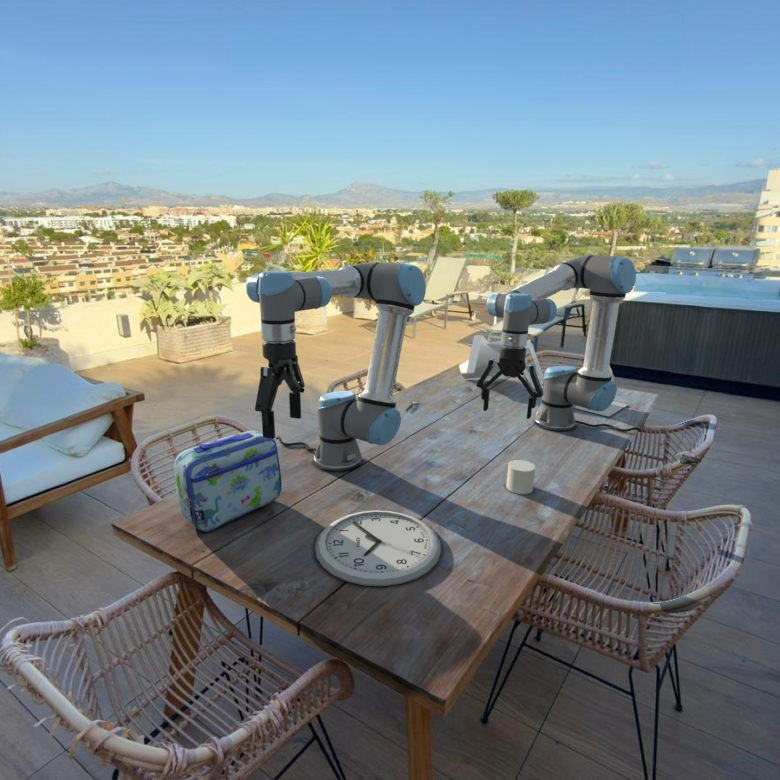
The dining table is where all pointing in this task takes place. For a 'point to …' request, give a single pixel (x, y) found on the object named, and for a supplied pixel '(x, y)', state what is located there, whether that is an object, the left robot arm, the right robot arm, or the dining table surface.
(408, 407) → the fork
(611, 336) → the right robot arm
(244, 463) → the lunch box
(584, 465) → the dining table surface
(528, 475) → the canister
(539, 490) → the dining table surface
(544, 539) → the dining table surface
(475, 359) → the white plastic object
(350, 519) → the wall clock
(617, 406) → the invitation card
